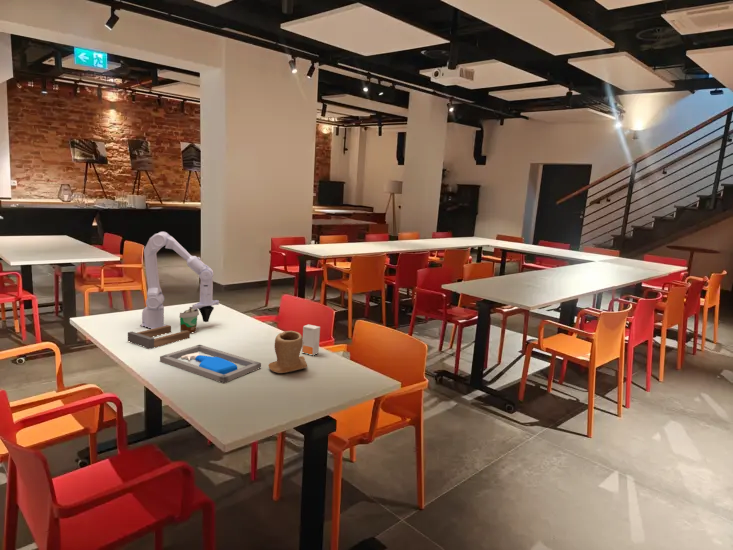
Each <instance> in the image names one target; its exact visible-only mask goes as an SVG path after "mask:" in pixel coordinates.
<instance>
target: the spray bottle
mask: <svg viewBox="0 0 733 550" xmlns="http://www.w3.org/2000/svg"><path fill="white" fill-rule="evenodd" d="M184 359H186V360H188V361H191V360H195V361H196V362H199V364H198V366H199V367H202V368H205V369H208V370H211V371H214V372H217V373H220V374H223V375H224V374H227V373H230V372H232V371H235V370H237V369H239V368H238V366H237V365H236V363H235V362H232V361H228V360H225V359H222V358H219V357H215V356H211V355H209V356H208V355H201V354H200V352H196V353H192V354H187V355H184V356H181V357H180V360H184Z"/></svg>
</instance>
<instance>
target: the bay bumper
mask: <svg viewBox="0 0 733 550" xmlns="http://www.w3.org/2000/svg"><path fill="white" fill-rule="evenodd" d="M154 339H155V338H154V337H148V336H145V335H142V334H139V333H137V332H136V331H129V332H127V342H128V341H130V342H132V343H131V344H133V343H136V344H139V345H142V346H144V347H143V348H146V347H147V348H146V349H149V348H151V349H155V348H154ZM130 342H129V343H130ZM136 344H135V345H136ZM139 345H138V346H139ZM142 346H141V347H142Z"/></svg>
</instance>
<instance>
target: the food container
mask: <svg viewBox="0 0 733 550" xmlns="http://www.w3.org/2000/svg"><path fill="white" fill-rule="evenodd" d="M199 315H200V311H199V309H196V310H195V309H192V306H189V308H188V309H187V310H184V311H183V312H179V326H180V332H182V331H186V330H187V331H190V334H193V333H192V332H194V333H196V332H197V324H198V316H199ZM195 331H196V332H195Z"/></svg>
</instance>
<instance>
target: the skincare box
mask: <svg viewBox="0 0 733 550" xmlns="http://www.w3.org/2000/svg"><path fill="white" fill-rule="evenodd" d="M320 334H321V326H318V325H314V324H309V323H308V324H306V325H303V327H302V340H303V345H302V348H301V353H302V352H304V353H308V354H312V355H314V354H316V353H318V354H319V349H320V337H321V335H320Z"/></svg>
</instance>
